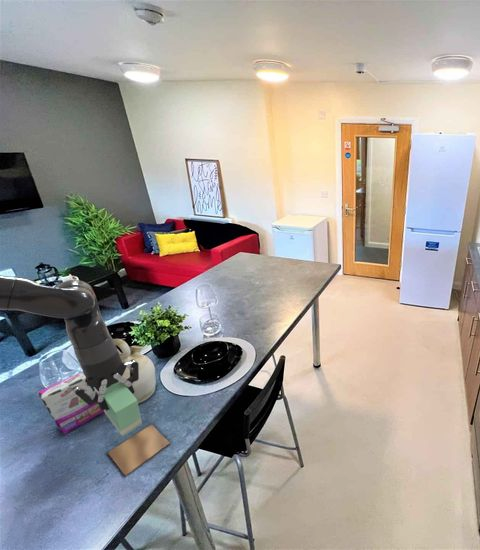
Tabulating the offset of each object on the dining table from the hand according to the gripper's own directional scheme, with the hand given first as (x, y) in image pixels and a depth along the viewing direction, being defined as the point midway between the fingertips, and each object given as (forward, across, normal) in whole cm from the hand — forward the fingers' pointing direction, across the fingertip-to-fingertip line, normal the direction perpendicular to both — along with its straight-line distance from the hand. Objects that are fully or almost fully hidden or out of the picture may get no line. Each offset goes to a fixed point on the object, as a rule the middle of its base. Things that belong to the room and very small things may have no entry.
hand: (118, 401), depth 81 cm
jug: (+21, -9, -25) cm, 34 cm away
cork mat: (+20, 0, 0) cm, 20 cm away
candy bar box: (+21, +6, -27) cm, 35 cm away
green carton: (+4, 0, +4) cm, 6 cm away
